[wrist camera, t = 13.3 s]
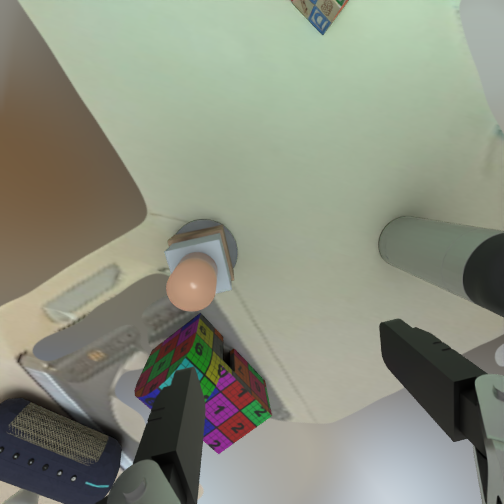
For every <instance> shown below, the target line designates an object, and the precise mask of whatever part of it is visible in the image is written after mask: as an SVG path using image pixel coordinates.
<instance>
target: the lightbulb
mask: <svg viewBox="0 0 504 504" xmlns="http://www.w3.org/2000/svg"><path fill="white" fill-rule="evenodd" d="M39 496H40V495H39V494H36V493H33V492H31V491H28V490H25V489H22V488H21V489H20V490H19V491H18V492H17V493H15V494H14V495H12V496H11V497H10V498H8V499H7V500H6V501H4V502H3V503H2V504H38V499H39Z"/></svg>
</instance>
